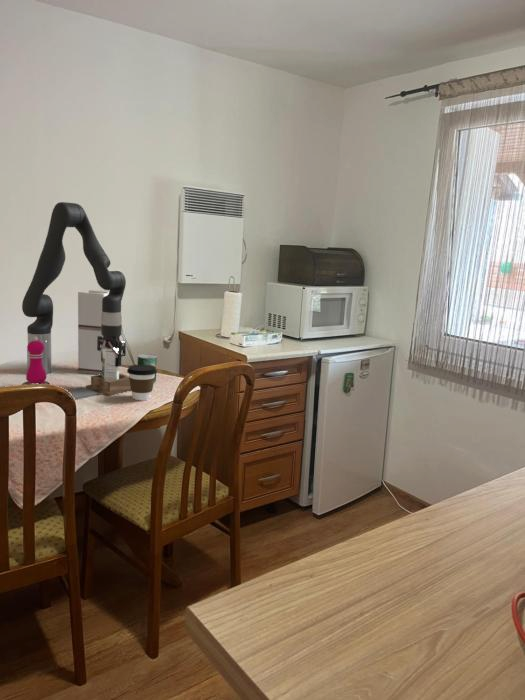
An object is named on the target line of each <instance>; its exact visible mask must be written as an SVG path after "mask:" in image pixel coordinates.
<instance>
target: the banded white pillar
mask: <svg viewBox="0 0 525 700" xmlns="http://www.w3.org/2000/svg"><path fill="white" fill-rule="evenodd" d="M108 294H109V291H107V290H105V291H102V290H93V289H92V290H91V289H89V290H88V292H85V291H82V292H81V291H78V292H77V315H78V316H77V318H78V319H77V340H78V341H77V342H78V343H77V348H78V349H77V351H78V352H77V356H78V357H77V360H78V362H77V363H78V364H77V365H78V367H77V368H78V369H77V370H78V372H82V373H81V374H88V373H91V374H92V375H98V374H102V362H101V353H100V351H98V350H97V337H98V336H102V334H101V317H102V299H103V297H105V296H107V295H108ZM100 347H101V345H100ZM91 374H90V375H91Z"/></svg>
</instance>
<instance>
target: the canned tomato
mask: <svg viewBox="0 0 525 700" xmlns="http://www.w3.org/2000/svg"><path fill="white" fill-rule="evenodd" d="M157 358H158V356H157V355H156V354H152V353H143V354H142V353H141V354H137V365H151V366H154V367H156V368H157V362H158V361H157V360H158V359H157ZM154 382H155V383H156V382H157V373H155V378H154Z"/></svg>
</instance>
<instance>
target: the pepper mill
mask: <svg viewBox="0 0 525 700" xmlns="http://www.w3.org/2000/svg"><path fill="white" fill-rule="evenodd" d="M26 346H27V347H26V351H27V350H28V351H29V358H30V366H29V369H27V372H26V375H25V378H26V379H25V380H26V381H27V382H28V383H45V384H46V382H45V380H47V374H46V372H45V370H44V368H43V365H42V357H43V353H42V352H43V351H44V345H43V343H42V342H40V341H38V338H37V337H34V338H33V341H31V342H30V343H29V344H28V343H27V345H26Z"/></svg>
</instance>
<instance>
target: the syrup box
mask: <svg viewBox="0 0 525 700" xmlns="http://www.w3.org/2000/svg"><path fill="white" fill-rule="evenodd" d="M117 349H118V348H117ZM117 353H118V351H117ZM118 354H119V353H118ZM115 357H116V356H115V354H114V352H112V349H111V348H107V347H105V348H104V349H103V356H102V379H106V380H109V381H113V380H118V379H119V373H120V366H119V367H116V366H115Z"/></svg>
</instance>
